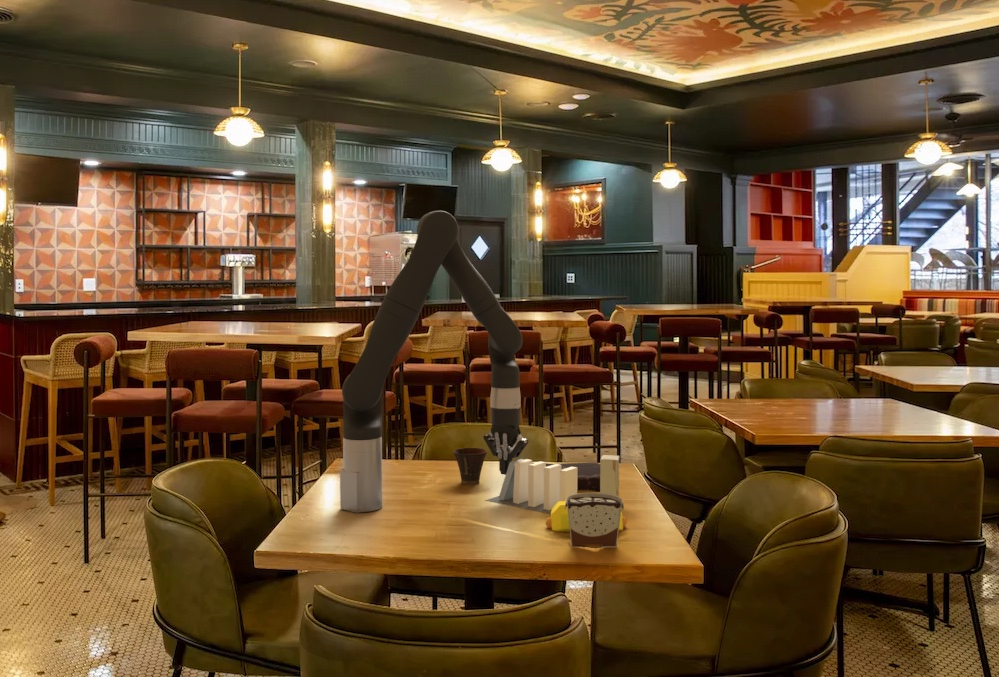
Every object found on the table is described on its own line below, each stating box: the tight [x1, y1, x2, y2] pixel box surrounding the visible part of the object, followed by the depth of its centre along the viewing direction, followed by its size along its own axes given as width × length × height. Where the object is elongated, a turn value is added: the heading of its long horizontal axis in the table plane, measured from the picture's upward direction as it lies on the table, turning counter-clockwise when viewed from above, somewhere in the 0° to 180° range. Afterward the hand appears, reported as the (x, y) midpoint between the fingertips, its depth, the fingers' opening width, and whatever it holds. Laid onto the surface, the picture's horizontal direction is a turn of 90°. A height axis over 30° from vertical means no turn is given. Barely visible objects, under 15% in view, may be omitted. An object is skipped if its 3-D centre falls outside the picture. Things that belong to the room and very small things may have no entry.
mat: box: [485, 495, 552, 515], centre depth 205 cm, size 10×25×1 cm, turn 51°
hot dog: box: [545, 501, 628, 533], centre depth 185 cm, size 18×7×8 cm
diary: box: [532, 461, 600, 493], centre depth 227 cm, size 19×25×5 cm
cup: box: [453, 447, 488, 486], centre depth 227 cm, size 9×9×10 cm
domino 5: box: [560, 467, 578, 501], centre depth 199 cm, size 5×2×10 cm, turn 142°
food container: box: [564, 492, 625, 549], centre depth 176 cm, size 12×6×10 cm, turn 92°
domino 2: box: [513, 458, 533, 504], centre depth 207 cm, size 5×2×10 cm, turn 142°
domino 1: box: [498, 458, 524, 501], centre depth 209 cm, size 5×2×10 cm, turn 142°
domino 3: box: [528, 460, 547, 507], centre depth 204 cm, size 5×2×10 cm, turn 142°
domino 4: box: [544, 463, 561, 510], centre depth 202 cm, size 5×2×10 cm, turn 142°
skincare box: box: [599, 454, 620, 498], centre depth 204 cm, size 6×4×12 cm
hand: (505, 473), depth 211 cm, fingers closed
